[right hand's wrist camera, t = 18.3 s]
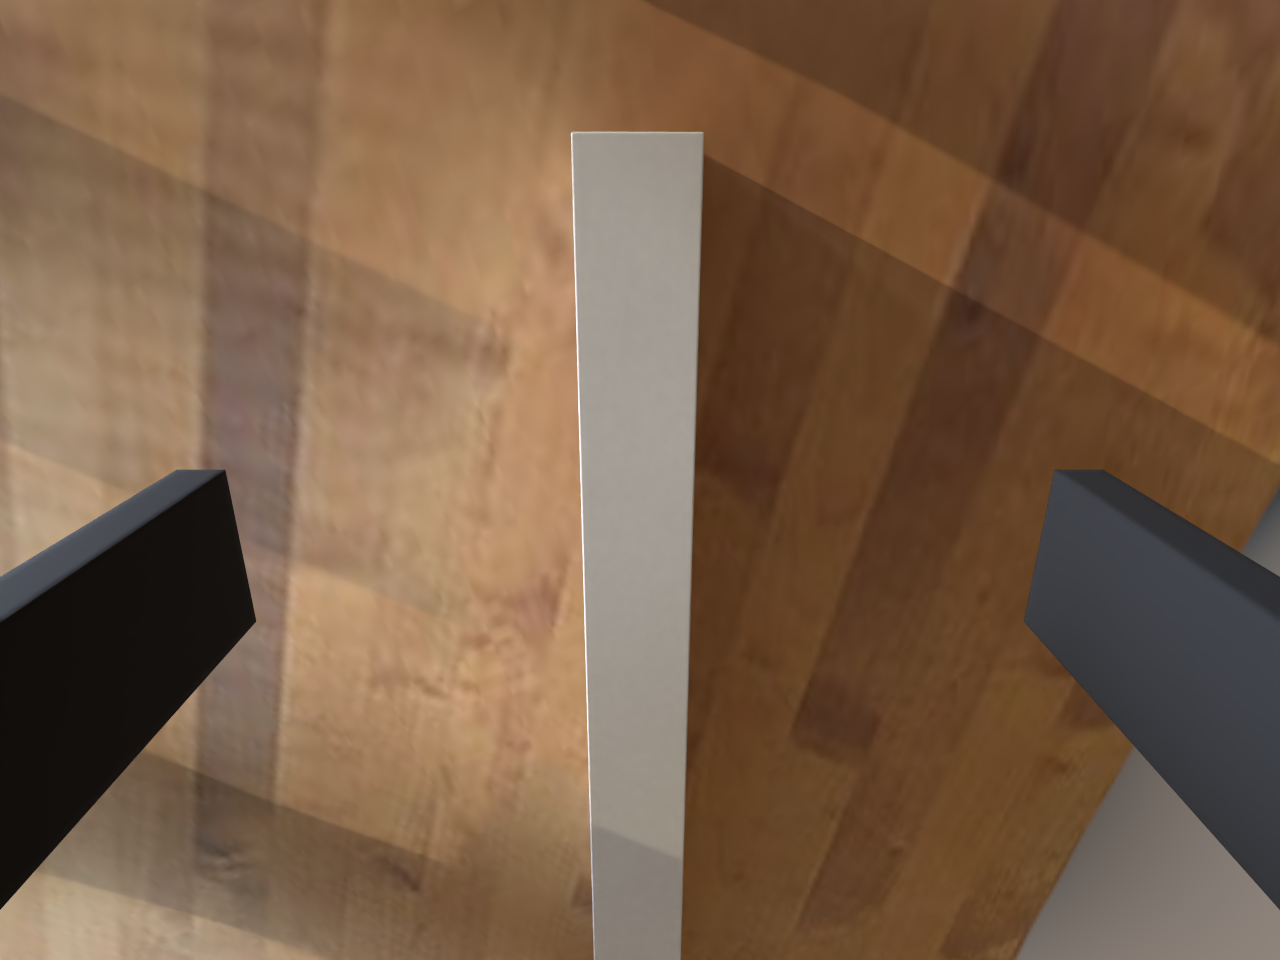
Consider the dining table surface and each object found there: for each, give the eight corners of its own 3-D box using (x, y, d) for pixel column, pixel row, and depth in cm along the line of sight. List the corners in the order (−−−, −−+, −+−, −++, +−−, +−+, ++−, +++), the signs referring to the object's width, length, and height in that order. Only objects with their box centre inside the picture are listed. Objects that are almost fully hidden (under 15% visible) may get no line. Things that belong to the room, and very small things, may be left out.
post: (586, 145, 34) (570, 131, 26) (689, 145, 34) (704, 131, 26) (605, 1022, 55) (599, 1164, 47) (669, 1022, 55) (675, 1163, 47)
